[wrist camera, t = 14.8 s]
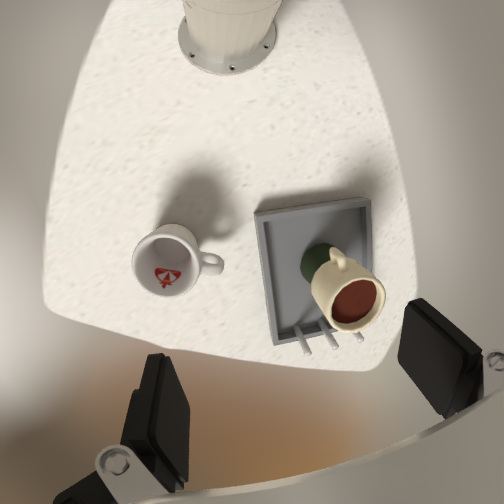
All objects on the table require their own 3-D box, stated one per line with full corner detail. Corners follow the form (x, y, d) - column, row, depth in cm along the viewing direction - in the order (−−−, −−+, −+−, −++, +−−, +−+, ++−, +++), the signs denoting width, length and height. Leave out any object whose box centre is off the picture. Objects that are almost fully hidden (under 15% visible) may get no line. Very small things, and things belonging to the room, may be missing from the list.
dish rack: (253, 212, 39) (262, 227, 32) (362, 197, 40) (390, 207, 33) (270, 336, 46) (280, 367, 39) (362, 315, 47) (383, 340, 40)
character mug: (348, 285, 44) (389, 330, 32) (306, 302, 44) (336, 354, 32) (333, 219, 40) (379, 248, 28) (285, 236, 40) (316, 274, 28)
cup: (228, 225, 40) (231, 243, 32) (217, 279, 42) (219, 307, 34) (149, 212, 38) (133, 227, 30) (143, 267, 40) (129, 292, 32)
